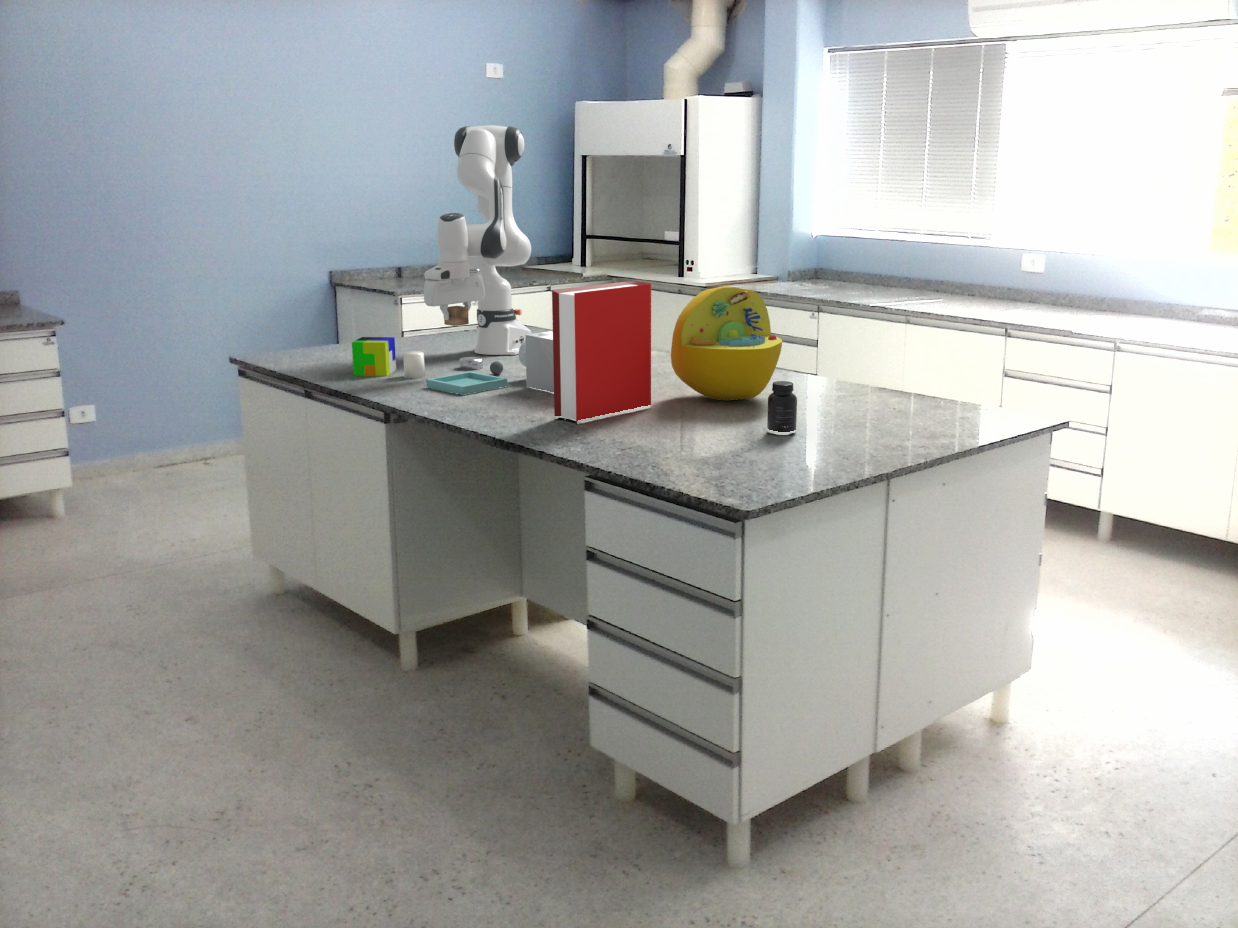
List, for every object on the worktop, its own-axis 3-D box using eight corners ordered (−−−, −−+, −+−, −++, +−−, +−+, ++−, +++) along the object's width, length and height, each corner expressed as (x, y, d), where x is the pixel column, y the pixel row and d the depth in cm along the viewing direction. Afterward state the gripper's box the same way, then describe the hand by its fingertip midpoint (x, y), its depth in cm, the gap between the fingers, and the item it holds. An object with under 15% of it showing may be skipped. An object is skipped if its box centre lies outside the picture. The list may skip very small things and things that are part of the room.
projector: (635, 392, 323) (635, 337, 319) (583, 401, 311) (582, 345, 307) (555, 374, 349) (555, 323, 345) (504, 383, 336) (502, 330, 332)
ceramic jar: (416, 374, 350) (415, 350, 348) (429, 376, 346) (428, 353, 344) (400, 376, 346) (398, 353, 344) (412, 379, 342) (411, 355, 340)
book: (576, 425, 285) (574, 293, 277) (554, 419, 291) (551, 290, 282) (654, 407, 303) (654, 283, 295) (632, 403, 309) (632, 281, 300)
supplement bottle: (764, 429, 279) (765, 380, 276) (792, 429, 280) (794, 379, 277) (770, 436, 273) (771, 386, 270) (799, 435, 273) (800, 385, 270)
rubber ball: (497, 372, 351) (497, 359, 350) (506, 374, 348) (505, 361, 347) (487, 374, 348) (486, 361, 347) (496, 376, 345) (495, 363, 344)
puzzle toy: (396, 370, 357) (394, 337, 354) (386, 376, 347) (384, 342, 344) (364, 369, 358) (362, 337, 355) (353, 375, 348) (351, 342, 345)
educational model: (716, 417, 292) (718, 296, 284) (649, 396, 316) (649, 284, 308) (806, 403, 307) (810, 288, 299) (736, 384, 331) (738, 277, 323)
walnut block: (457, 322, 347) (457, 305, 346) (468, 324, 344) (468, 307, 342) (444, 324, 343) (443, 307, 342) (455, 326, 340) (454, 309, 339)
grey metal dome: (473, 365, 363) (472, 356, 363) (487, 368, 359) (487, 358, 358) (455, 368, 358) (454, 359, 358) (469, 371, 354) (469, 361, 353)
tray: (470, 379, 341) (470, 371, 340) (507, 386, 330) (507, 378, 330) (426, 387, 330) (426, 379, 329) (463, 395, 319) (462, 387, 318)
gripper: (474, 267, 349) (476, 313, 352) (419, 273, 334) (422, 321, 338) (488, 268, 345) (490, 315, 348) (433, 275, 330) (435, 323, 334)
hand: (456, 318), depth 343 cm, fingers closed on walnut block, 5 cm apart
